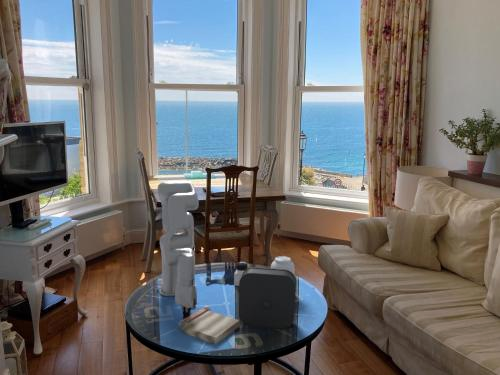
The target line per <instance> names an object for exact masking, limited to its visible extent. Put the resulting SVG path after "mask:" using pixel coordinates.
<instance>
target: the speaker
mask: <svg viewBox="0 0 500 375" xmlns="http://www.w3.org/2000/svg"><path fill="white" fill-rule="evenodd" d="M296 290H297V279H296V276H295V273H294V274H293V273H292V272H290V271H289V270H284V269H271V267H269V268H268V267H267V268H266V267H252V266H251V267H247V269H246V270H245V271H244V272H243V274H242V277H241V279H240V281H239V286H238V317H239V321H241V322H242V323H243V324H244V325H247V326H251V327H260V328H261V327H262V328H274V329H276V328H277V329H287V328H289V327H291V326H292V325H293V323H294V321H295V314H296V313H295V311H296V297H297V296H296V293H297V292H296Z"/></svg>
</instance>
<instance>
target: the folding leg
mask: <svg viewBox="0 0 500 375" xmlns="http://www.w3.org/2000/svg"><path fill="white" fill-rule="evenodd" d="M207 311H211V307H210V306H209V305H204V306H203V307H202V308H201V309H199V310H197V311H196V312H194V313H192V314H190V316H188V317H187V318H185V319H183V318H182V320H183V321H186V322H188V324H189V323H190V322H192V321H193V320H195V319H196V318H198V317H200V316H201V315H203V314H204V313H206V312H207Z"/></svg>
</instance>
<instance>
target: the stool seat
mask: <svg viewBox="0 0 500 375" xmlns="http://www.w3.org/2000/svg"><path fill="white" fill-rule="evenodd" d="M239 327H240V319H237V318H233V317H229V316H226V315H223V314H220V313H218V312H214V311H211V310H210V311H207V312H206V313H204V314H203V315H201V316H200V317H198V318H196V319H195V320H193V321H192V322H190V323H189V324H188V322H186V321H183V319H180V321H179V322H178V330H180V331H182V332H183V334H186V335H188V336H191V337H194V338H197V339H198V340H199V339H200V340H203V341H205V342H207V343H211V344H214V345H217V344H219V342H221V341H222V340H224V339H225V338H226V337H228V336H229V335H230V334H231V333H233V332H234V331H235V330H237V329H238V328H239Z"/></svg>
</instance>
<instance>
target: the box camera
mask: <svg viewBox="0 0 500 375" xmlns="http://www.w3.org/2000/svg"><path fill="white" fill-rule="evenodd" d="M246 269H248V263H247V262H244V261H240V262H237V263H236V270H235V272H234V273H233V278H234V279H233V284H234V286H237V287H239V281H240V279H241V277H242V274H243V272H244V271H245V270H246Z"/></svg>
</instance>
